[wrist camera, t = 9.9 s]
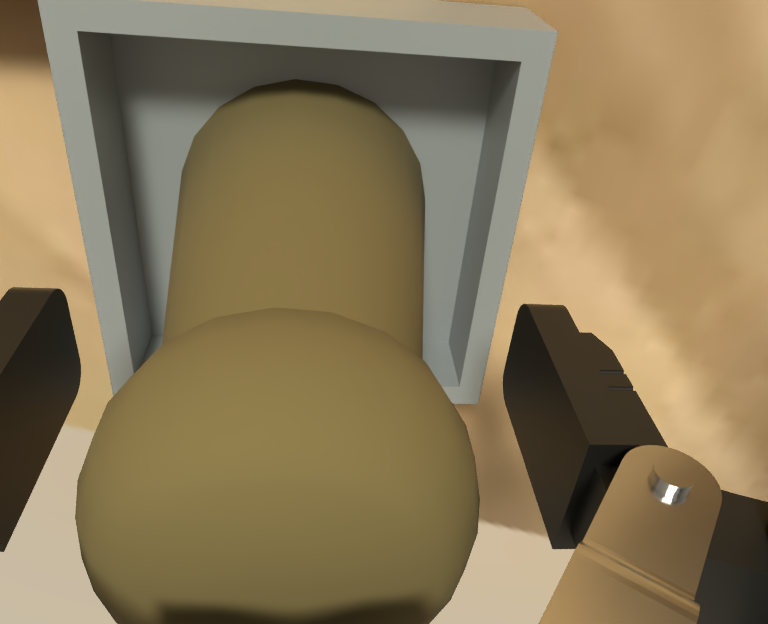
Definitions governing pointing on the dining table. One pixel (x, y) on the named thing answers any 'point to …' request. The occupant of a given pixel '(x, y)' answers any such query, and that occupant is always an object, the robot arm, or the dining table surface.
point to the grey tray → (311, 63)
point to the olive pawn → (286, 390)
